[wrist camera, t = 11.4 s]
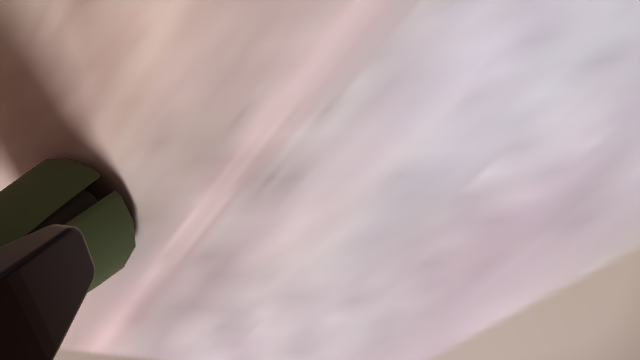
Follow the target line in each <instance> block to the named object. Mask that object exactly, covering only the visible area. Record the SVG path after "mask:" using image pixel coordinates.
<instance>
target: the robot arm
mask: <svg viewBox="0 0 640 360" xmlns="http://www.w3.org/2000/svg"><path fill="white" fill-rule="evenodd" d="M94 275H95V266H94V263H93V260H92V258H91V255H90V252H89V250H88V247H87V244H86V241H85V239H84V236H83V234H82V232H81V231H80V230H79V229H78V228H76V227H74V226H66V225H58V224H54V225H50V226H47V227H45V228H43V229H40V230H38V231H36V232H34V233H31V234H29V235H27V236H25V237H22V238H20V239H18V240H16V241H13V242H11V243H9V244H7V245H4V246H2V247H0V360H53V359H54V357H55V355H56V353H57V351H58V349H59V348H60V346H61V344H62V342H63V340H64V338H65V336H66V334H67V332H68V330H69V328H70V326H71V324H72V322H73V320H74V318H75V316H76V314H77V312H78V310H79V308H80V306H81V304H82V302H83V300H84V298H85V296H86V294H87V292H88V290H89V288H90V286H91V284H92V282H93V279H94Z"/></svg>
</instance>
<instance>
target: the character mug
mask: <svg viewBox="0 0 640 360" xmlns="http://www.w3.org/2000/svg"><path fill="white" fill-rule="evenodd" d="M99 177H100V175H99V174H98V173H97V172H96V171H95V170H93V169H91V168H89V167H87V166H85V165H82V164H80V163H78V162H76V161H74V160H72V159H46V160H45V161H43V162H42V163H40V164H39V165H37V166H36V167H34V168H33V169H31V170H30V171H28V172H27V173H26V174H24V175H23V176H21V177H20V178H19V179H17V180H16V181H14V182H13V183H12V184H10V185H9V186H7V187H6V188H5V189H3V190H2V191H0V247H2V246H4V245H7V244H9V243H11V242H13V241H16V240H18V239H20V238H22V237H25V236H27V235H29V234H31V233H34V232H36V231H38V230H40V229H43V228H45V227H47V226H50V225H54V224H58V225H66V226H74V227H76V228H78V229H79V230H80V231H81V232H82V234H83V236H84V239H85V241H86V244H87V247H88V250H89V252H90V255H91V258H92V260H93V263H94V266H95V275H94V279H93V282H92V284H91V286H90V288H89V290H88V292H89V291H91V290H92V289H94V288H95V287H97V286H98V285H100V284H101V283H103V282H104V281H105V280H107V279H108V278H109V277H111V276H112V275H114V274H115V273H116V272H118V271H119V270H121V269H122V268H123V267H124V266H125V264H126V262H127V260H128V259H129V257H130V255H131V253H132V252H133V250H134V248H135V233H134V221H133V219H132V217H131V215H130V213H129V211H128V209H127V207H126V205H125V203H124V201H123V199H122V197H121V195H120V194H118V193H117V192H116V191H113V192H112V193H110V194H109V195H107V196H106V197H104V198H103V199H101V200H100V201H98V202H97V200H96V199H95V197H94V196H93V195H92V194H90V193H88V192H87V191H85V190H84V189H85V188H86V187H87V186H88V185H90V184H91V183H92V182H94V181H95V180H96V179H98V178H99ZM88 292H87V293H88Z"/></svg>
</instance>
